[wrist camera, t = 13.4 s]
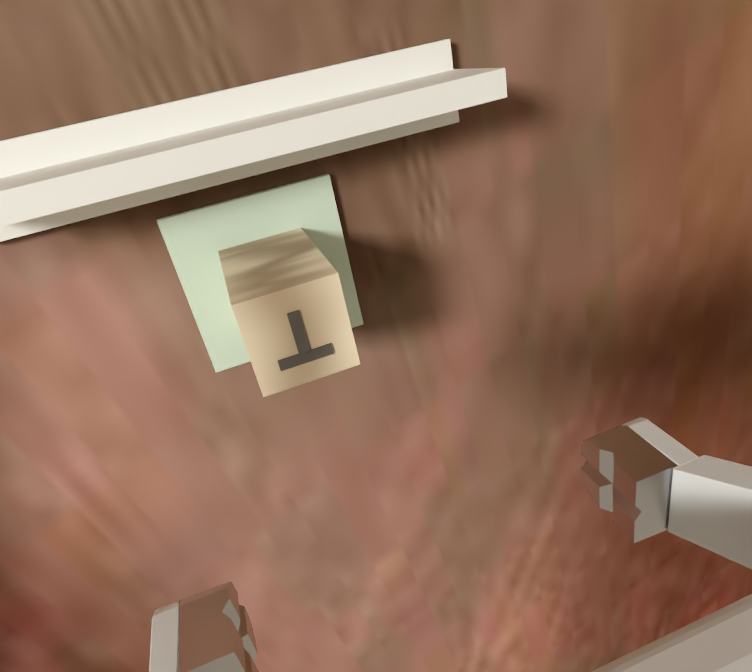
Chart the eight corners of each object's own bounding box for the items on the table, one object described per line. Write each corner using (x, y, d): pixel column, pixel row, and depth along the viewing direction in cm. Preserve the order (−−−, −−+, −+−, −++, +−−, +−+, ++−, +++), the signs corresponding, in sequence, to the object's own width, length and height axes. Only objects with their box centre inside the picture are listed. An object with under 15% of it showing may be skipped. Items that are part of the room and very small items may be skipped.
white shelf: (443, 39, 29) (502, 31, 23) (453, 120, 30) (509, 130, 25) (-62, 154, 24) (-127, 176, 19) (-13, 242, 26) (-61, 283, 21)
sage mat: (327, 173, 29) (329, 174, 29) (361, 321, 34) (363, 324, 33) (157, 219, 28) (156, 221, 27) (215, 369, 32) (215, 372, 32)
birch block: (300, 227, 30) (338, 273, 23) (320, 302, 32) (360, 365, 25) (217, 250, 29) (231, 306, 22) (243, 326, 31) (263, 398, 24)
